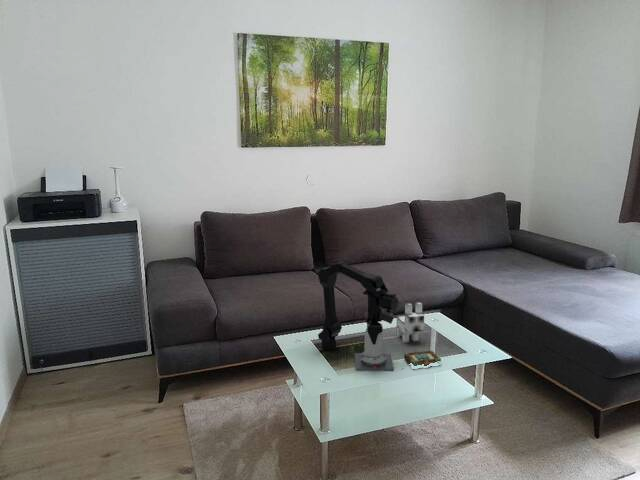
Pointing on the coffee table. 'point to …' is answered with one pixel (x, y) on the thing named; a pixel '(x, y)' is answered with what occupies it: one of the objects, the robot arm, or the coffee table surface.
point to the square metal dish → (373, 362)
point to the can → (373, 346)
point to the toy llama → (410, 323)
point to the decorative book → (421, 358)
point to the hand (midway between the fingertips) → (373, 340)
